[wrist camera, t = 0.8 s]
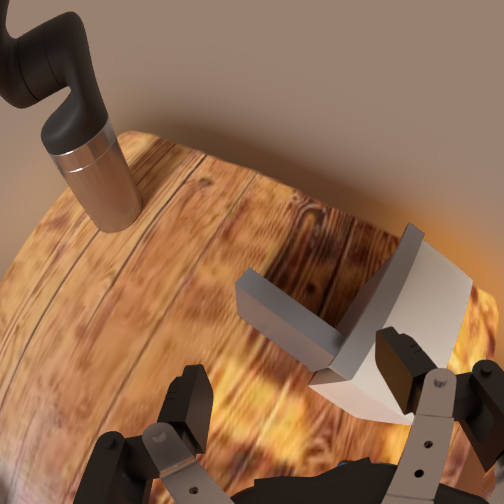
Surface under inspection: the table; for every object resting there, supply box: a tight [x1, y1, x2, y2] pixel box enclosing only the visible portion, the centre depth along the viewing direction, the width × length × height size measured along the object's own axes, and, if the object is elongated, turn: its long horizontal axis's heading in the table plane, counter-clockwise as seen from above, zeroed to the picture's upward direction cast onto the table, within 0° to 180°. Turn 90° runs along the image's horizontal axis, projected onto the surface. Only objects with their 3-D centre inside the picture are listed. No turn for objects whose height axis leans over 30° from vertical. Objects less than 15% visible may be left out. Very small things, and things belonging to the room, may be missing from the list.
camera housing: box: [308, 223, 473, 425], centre depth 26 cm, size 10×18×15 cm, turn 141°
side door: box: [235, 253, 394, 372], centre depth 29 cm, size 11×13×12 cm
